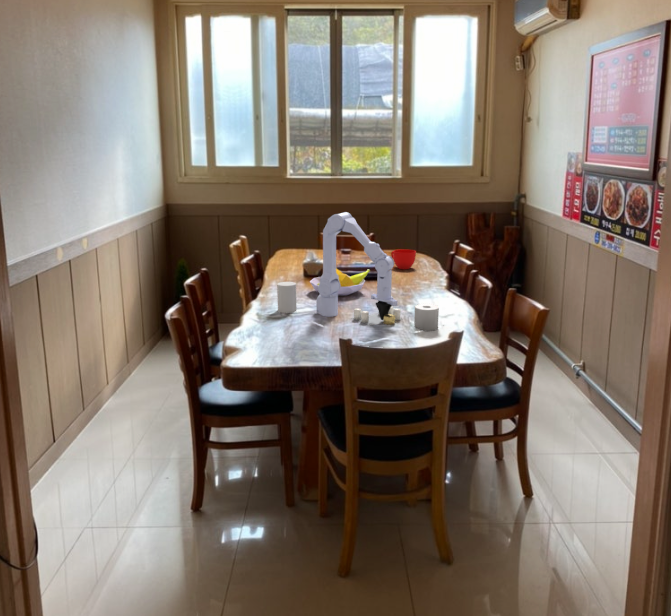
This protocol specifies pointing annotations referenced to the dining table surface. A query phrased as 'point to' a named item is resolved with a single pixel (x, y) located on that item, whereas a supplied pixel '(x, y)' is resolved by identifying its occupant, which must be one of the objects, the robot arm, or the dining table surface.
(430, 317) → the toilet tissue
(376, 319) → the field board
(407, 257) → the ceramic cup
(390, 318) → the brass nut
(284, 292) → the cup
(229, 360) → the dining table surface
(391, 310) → the spacers
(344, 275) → the fruit bowl
